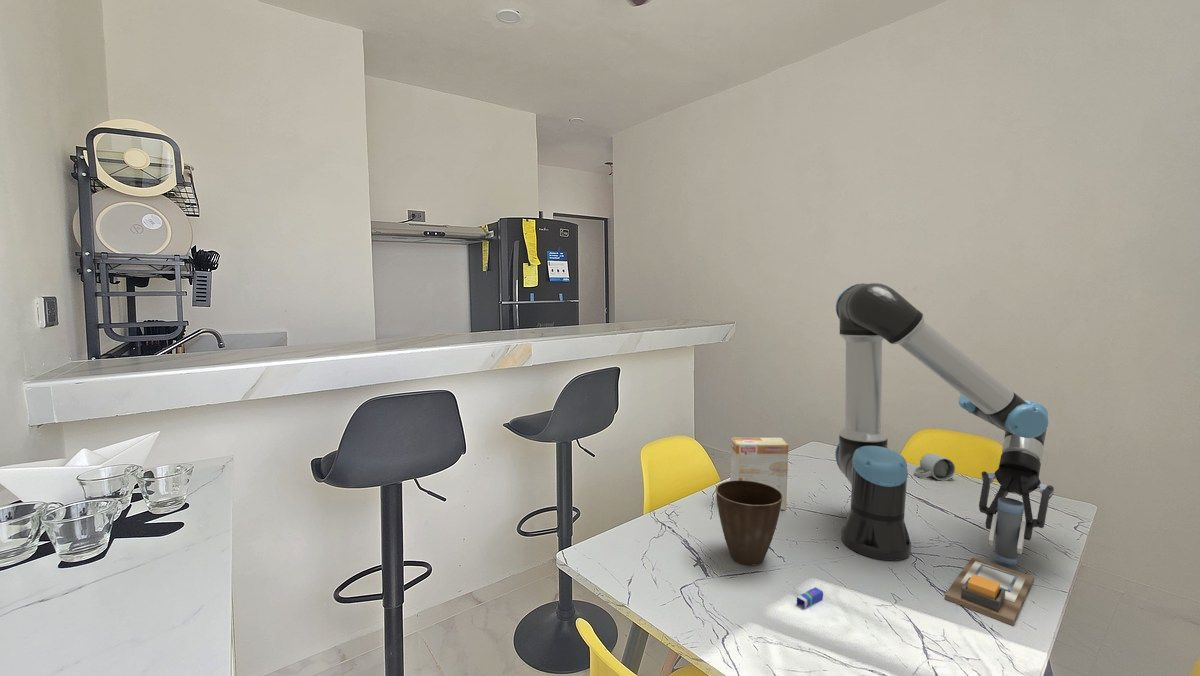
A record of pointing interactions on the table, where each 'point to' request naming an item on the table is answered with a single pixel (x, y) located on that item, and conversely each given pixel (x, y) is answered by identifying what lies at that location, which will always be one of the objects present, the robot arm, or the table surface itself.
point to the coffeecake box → (761, 462)
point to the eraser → (810, 597)
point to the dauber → (1008, 530)
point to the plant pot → (748, 518)
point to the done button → (984, 586)
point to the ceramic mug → (935, 467)
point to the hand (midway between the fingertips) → (1005, 546)
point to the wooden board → (1010, 592)
